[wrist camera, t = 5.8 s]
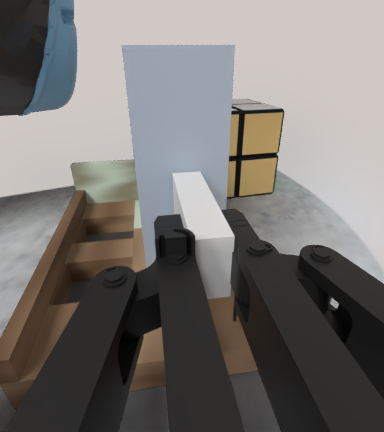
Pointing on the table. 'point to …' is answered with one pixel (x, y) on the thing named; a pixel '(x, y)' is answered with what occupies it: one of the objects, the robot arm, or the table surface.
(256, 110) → the puzzle cube
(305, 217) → the table surface
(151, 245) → the slate block
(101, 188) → the trap box
